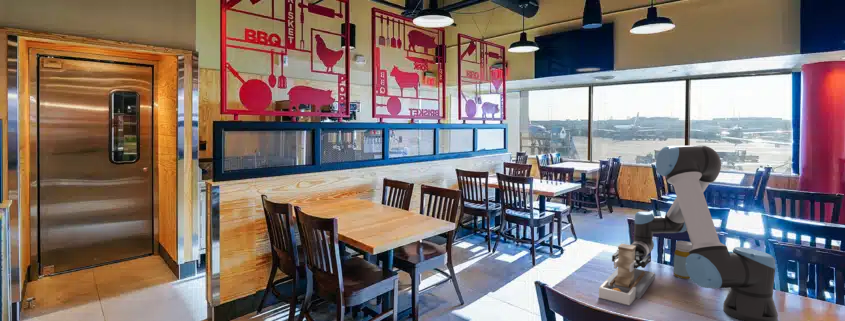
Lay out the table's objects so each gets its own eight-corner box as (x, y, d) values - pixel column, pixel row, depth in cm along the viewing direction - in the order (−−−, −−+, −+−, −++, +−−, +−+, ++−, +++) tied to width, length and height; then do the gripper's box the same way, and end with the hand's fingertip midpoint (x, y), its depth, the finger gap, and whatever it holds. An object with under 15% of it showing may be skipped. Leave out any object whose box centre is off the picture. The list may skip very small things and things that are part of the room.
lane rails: (644, 274, 179) (644, 271, 178) (632, 290, 163) (632, 287, 162) (624, 270, 184) (624, 267, 184) (609, 285, 168) (609, 282, 168)
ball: (620, 302, 159) (623, 295, 161) (620, 294, 157) (623, 287, 160) (609, 299, 161) (612, 292, 164) (608, 291, 160) (612, 284, 162)
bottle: (669, 274, 184) (671, 241, 183) (680, 272, 187) (681, 239, 186) (685, 280, 178) (687, 246, 176) (695, 277, 181) (697, 244, 179)
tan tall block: (634, 281, 171) (636, 245, 169) (629, 288, 165) (630, 251, 163) (620, 278, 174) (621, 243, 173) (614, 284, 168) (616, 248, 166)
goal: (635, 298, 162) (636, 287, 161) (629, 306, 155) (629, 294, 154) (605, 290, 169) (606, 280, 168) (598, 298, 162) (599, 287, 161)
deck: (654, 278, 181) (654, 272, 181) (639, 298, 161) (640, 292, 161) (620, 270, 190) (620, 265, 189) (602, 289, 170) (602, 283, 170)
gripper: (660, 264, 178) (647, 281, 160) (615, 255, 190) (598, 270, 172) (661, 247, 177) (648, 262, 159) (615, 239, 189) (599, 253, 171)
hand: (622, 266), depth 166 cm, fingers closed on tan tall block, 5 cm apart
